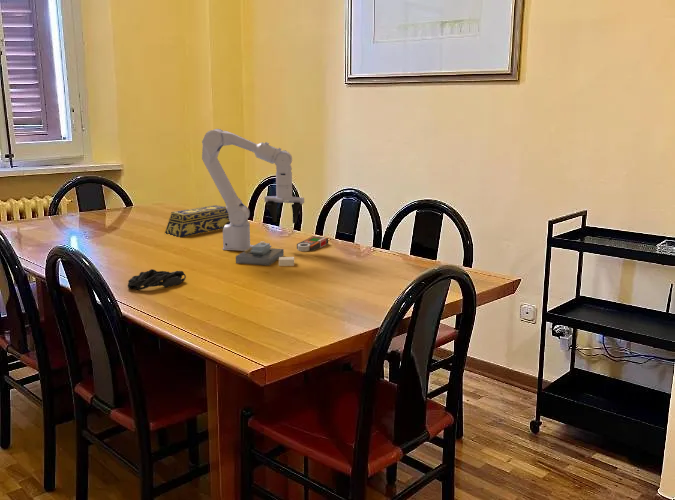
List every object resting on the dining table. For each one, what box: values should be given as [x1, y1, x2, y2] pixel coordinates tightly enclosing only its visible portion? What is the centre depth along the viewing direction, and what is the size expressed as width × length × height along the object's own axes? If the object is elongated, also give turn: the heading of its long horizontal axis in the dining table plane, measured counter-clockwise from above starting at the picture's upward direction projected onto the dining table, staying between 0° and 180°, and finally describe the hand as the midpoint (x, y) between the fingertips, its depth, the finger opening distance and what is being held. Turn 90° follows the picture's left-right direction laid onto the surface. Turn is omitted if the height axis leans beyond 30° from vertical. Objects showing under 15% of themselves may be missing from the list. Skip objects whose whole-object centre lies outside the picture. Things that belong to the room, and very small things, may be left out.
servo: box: [251, 240, 272, 255], centre depth 228 cm, size 4×9×6 cm, turn 165°
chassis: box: [235, 247, 285, 266], centre depth 228 cm, size 12×14×3 cm
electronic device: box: [296, 235, 329, 252], centre depth 246 cm, size 7×3×15 cm
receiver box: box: [278, 256, 295, 267], centre depth 221 cm, size 5×4×2 cm
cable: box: [127, 269, 187, 291], centre depth 199 cm, size 17×14×4 cm
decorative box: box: [164, 204, 230, 238], centre depth 275 cm, size 11×30×9 cm, turn 139°
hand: (284, 222), depth 241 cm, fingers open, 7 cm apart
